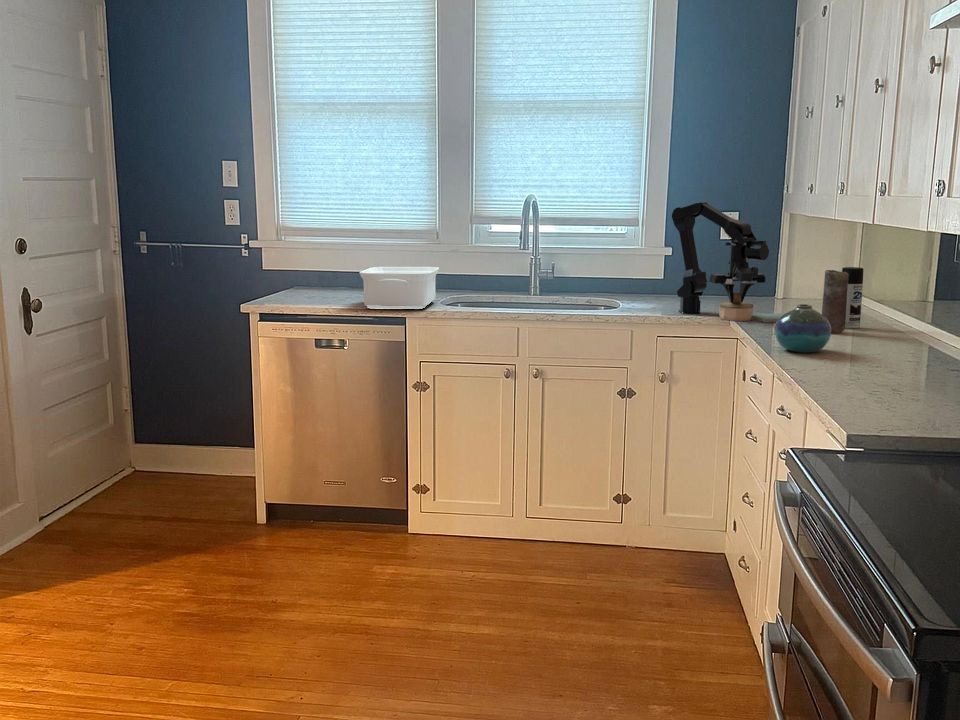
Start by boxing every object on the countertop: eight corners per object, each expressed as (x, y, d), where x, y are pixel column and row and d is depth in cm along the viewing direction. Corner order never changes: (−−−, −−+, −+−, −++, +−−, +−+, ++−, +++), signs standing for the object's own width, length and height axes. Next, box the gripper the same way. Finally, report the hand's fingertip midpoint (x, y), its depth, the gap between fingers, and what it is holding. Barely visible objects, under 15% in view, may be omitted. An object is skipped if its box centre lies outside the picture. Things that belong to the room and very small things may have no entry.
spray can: (850, 329, 292) (854, 269, 288) (833, 327, 298) (837, 267, 294) (864, 328, 295) (868, 268, 291) (847, 325, 301) (851, 266, 297)
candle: (826, 329, 293) (831, 269, 289) (848, 332, 287) (853, 270, 284) (816, 332, 287) (820, 270, 283) (838, 335, 282) (843, 272, 278)
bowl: (727, 321, 312) (727, 308, 311) (715, 316, 322) (716, 304, 321) (756, 320, 313) (756, 307, 312) (743, 316, 323) (744, 304, 322)
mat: (764, 322, 309) (764, 319, 309) (748, 316, 322) (749, 314, 321) (799, 321, 310) (800, 318, 310) (783, 316, 323) (783, 313, 323)
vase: (841, 354, 251) (845, 307, 249) (795, 357, 247) (798, 309, 244) (807, 344, 266) (810, 300, 263) (762, 347, 261) (765, 303, 259)
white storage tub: (376, 300, 375) (375, 265, 372) (443, 301, 371) (442, 266, 368) (355, 312, 342) (353, 273, 339) (428, 312, 338) (427, 274, 335)
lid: (726, 308, 310) (727, 295, 309) (714, 304, 321) (715, 291, 321) (758, 308, 311) (759, 294, 311) (745, 303, 323) (745, 290, 322)
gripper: (721, 261, 304) (719, 306, 307) (773, 260, 306) (771, 305, 309) (709, 258, 315) (707, 302, 318) (760, 257, 317) (757, 300, 320)
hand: (736, 302), depth 316 cm, fingers closed on lid, 3 cm apart
